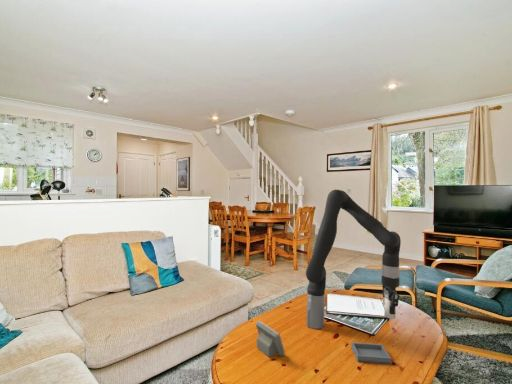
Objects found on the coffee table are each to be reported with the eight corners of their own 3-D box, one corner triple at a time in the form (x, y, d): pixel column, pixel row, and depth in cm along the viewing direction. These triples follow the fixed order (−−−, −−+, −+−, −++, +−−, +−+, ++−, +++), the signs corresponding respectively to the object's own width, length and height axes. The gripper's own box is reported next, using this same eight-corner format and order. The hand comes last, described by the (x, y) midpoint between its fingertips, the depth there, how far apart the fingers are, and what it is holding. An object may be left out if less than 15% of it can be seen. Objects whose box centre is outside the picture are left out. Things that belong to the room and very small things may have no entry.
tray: (357, 361, 113) (357, 356, 113) (351, 347, 124) (351, 342, 124) (391, 364, 112) (391, 358, 112) (381, 349, 122) (381, 344, 122)
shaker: (386, 318, 122) (387, 296, 122) (382, 313, 126) (383, 292, 126) (397, 319, 121) (397, 297, 121) (393, 314, 126) (393, 293, 126)
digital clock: (286, 357, 116) (286, 332, 116) (268, 362, 112) (268, 337, 112) (269, 338, 130) (269, 316, 131) (252, 342, 127) (252, 320, 127)
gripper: (376, 270, 131) (376, 304, 131) (388, 279, 117) (387, 318, 117) (392, 270, 130) (392, 305, 130) (405, 280, 116) (405, 319, 116)
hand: (389, 311), depth 124 cm, fingers closed on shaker, 4 cm apart
